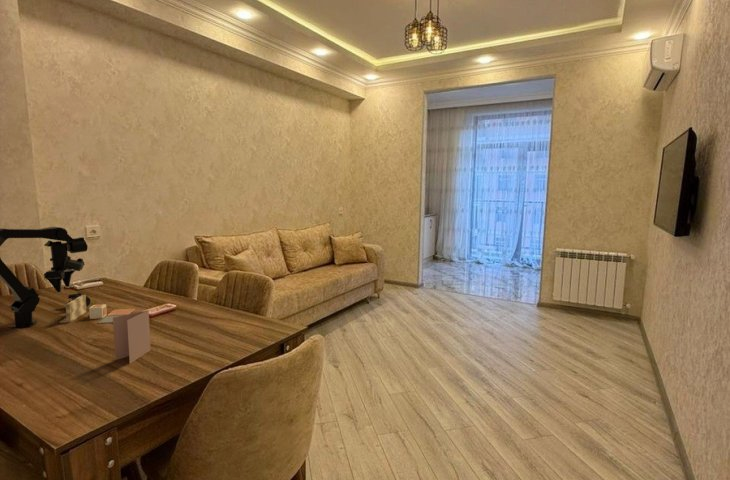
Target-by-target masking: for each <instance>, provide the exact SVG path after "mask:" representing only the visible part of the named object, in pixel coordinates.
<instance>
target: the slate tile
mask: <svg viewBox="0 0 730 480" xmlns="http://www.w3.org/2000/svg"><path fill="white" fill-rule="evenodd" d="M120 316H123V315H120ZM113 317H118V316H107V315H106V316H105V317H103V318H101V319H100V320H99V321H98V322H97V324H99V325H100V324H113Z"/></svg>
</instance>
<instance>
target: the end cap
mask: <svg viewBox="0 0 730 480" xmlns="http://www.w3.org/2000/svg"><path fill="white" fill-rule="evenodd" d="M81 295H86V294H85V293H84V292H82V291H78V292H77V293H74V294H68V295H67V297H68V299H71V300H68V303H69V302H71V301H73V300H74V299H76V298H78V297H79V296H81ZM90 304H91V298H90V297H89V296H87V295H86V308H88V307H89V306H90Z"/></svg>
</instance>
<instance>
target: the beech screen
mask: <svg viewBox="0 0 730 480" xmlns="http://www.w3.org/2000/svg"><path fill="white" fill-rule="evenodd" d="M86 296H87V294H85V295H81V296H79V297H78V298H76V299H74V300H73V301H72V300H70V301H71V302H69V301H68V302H67V303H65V315H66V317H65V318H64V319H62V320H60V321H59V323H60V324H67V323H72V322H74V321H76V319H78V318H79V317H81V316H82V315H84V314H85V313H86V312H87V311H88V310H87V307H86Z"/></svg>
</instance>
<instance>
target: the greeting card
mask: <svg viewBox="0 0 730 480" xmlns="http://www.w3.org/2000/svg"><path fill="white" fill-rule="evenodd" d="M149 311H150V310H146V309H145V310H142V311H138V312H132V313H131V314H127V315H123V316H118V317H113V323H112V326H113V339H114V355H115V359H114V360H115V361H118V360H121V359H124V358H128V357H129V364H131V363H133V362H135V361H136V360H137V359H139V358H140V357H142V356H144V355H145V354H147V353H148V352H150V351H151V350H152V349H151V348H152V347H151V332H150V312H149Z"/></svg>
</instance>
